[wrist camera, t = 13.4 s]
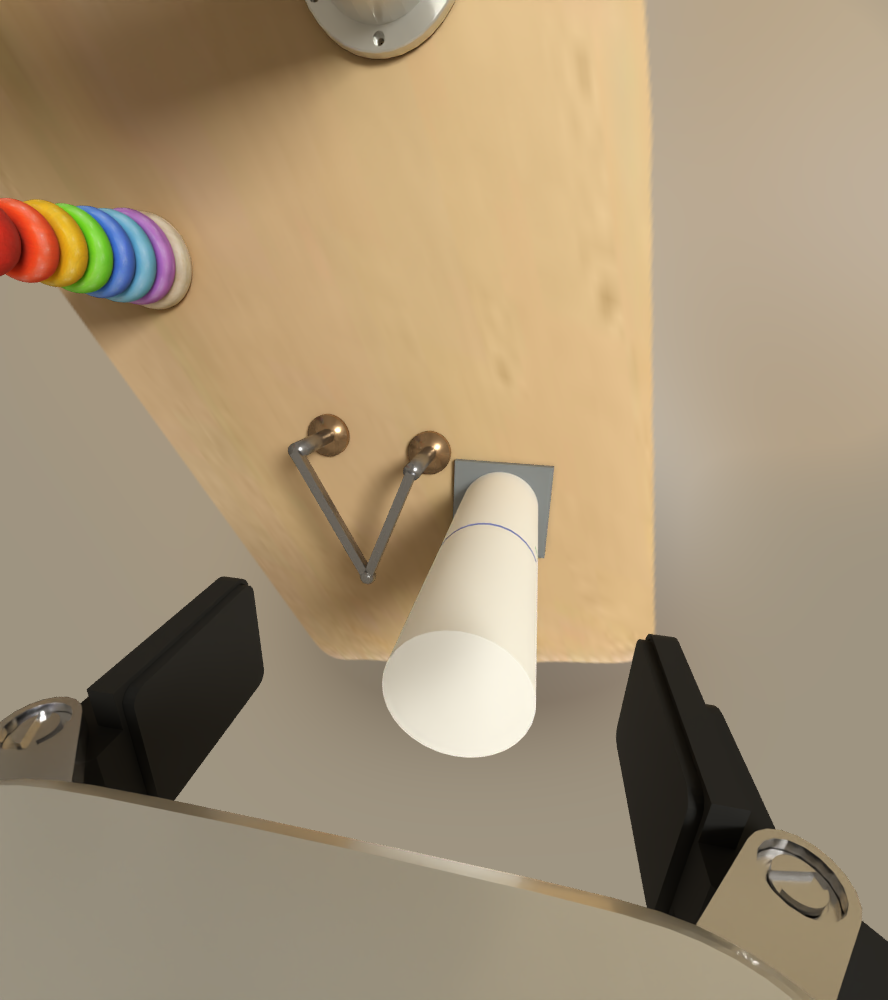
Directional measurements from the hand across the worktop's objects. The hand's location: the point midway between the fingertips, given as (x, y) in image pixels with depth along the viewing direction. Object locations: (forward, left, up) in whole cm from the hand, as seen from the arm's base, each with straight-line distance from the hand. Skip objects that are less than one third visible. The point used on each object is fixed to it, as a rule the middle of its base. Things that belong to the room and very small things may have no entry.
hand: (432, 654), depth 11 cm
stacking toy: (-12, -33, -34) cm, 49 cm away
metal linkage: (+8, -12, -34) cm, 37 cm away
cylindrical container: (+9, 0, -33) cm, 34 cm away
